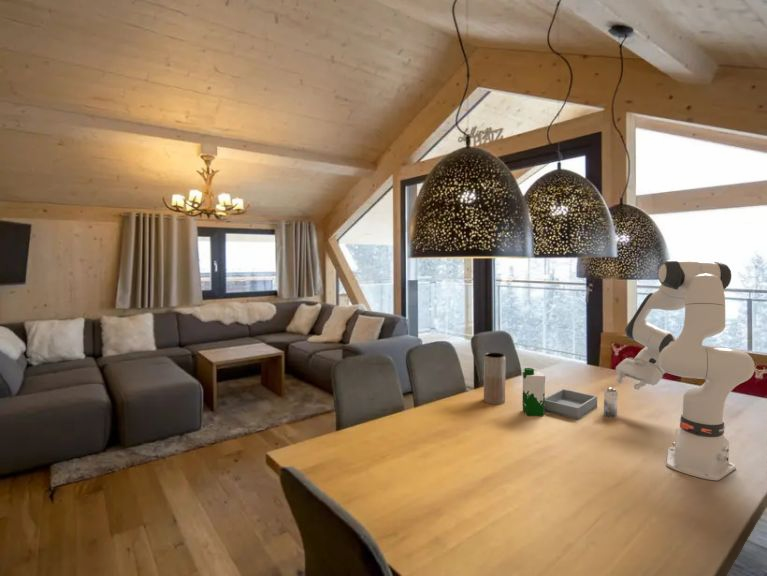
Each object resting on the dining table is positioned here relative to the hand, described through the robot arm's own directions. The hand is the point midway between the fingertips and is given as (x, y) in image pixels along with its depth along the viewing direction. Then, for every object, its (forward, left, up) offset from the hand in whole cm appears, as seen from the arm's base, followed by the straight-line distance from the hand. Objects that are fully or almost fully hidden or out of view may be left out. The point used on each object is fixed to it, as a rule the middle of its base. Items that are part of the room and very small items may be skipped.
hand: (626, 385), depth 190 cm
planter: (-26, +50, -13) cm, 58 cm away
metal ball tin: (-7, +4, -13) cm, 15 cm away
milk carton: (-28, +29, -13) cm, 43 cm away
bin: (-11, +20, -13) cm, 26 cm away
